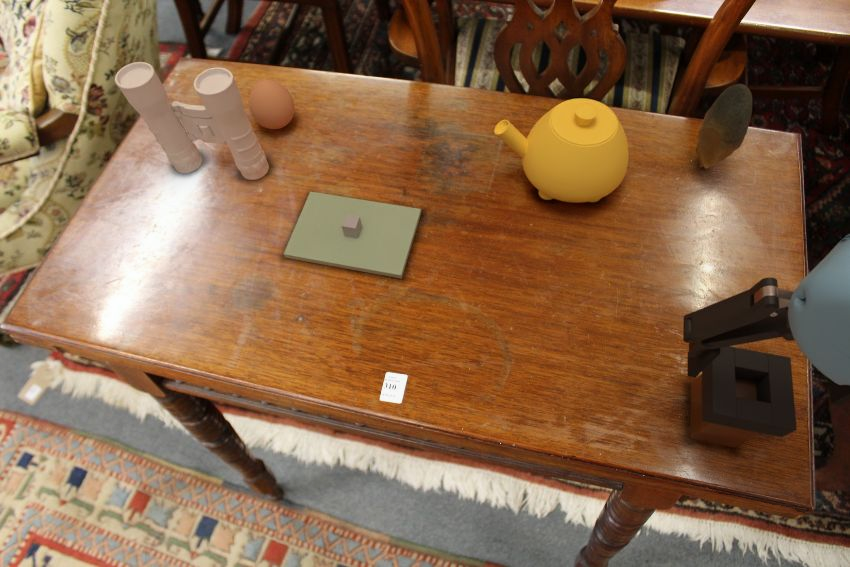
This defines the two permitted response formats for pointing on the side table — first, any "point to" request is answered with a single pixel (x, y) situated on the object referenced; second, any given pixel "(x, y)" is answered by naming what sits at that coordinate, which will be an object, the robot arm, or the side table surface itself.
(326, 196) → the base mat
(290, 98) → the egg
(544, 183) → the teapot
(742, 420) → the dark square frame
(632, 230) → the side table surface
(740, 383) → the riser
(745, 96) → the decorative stone
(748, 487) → the side table surface
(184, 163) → the binoculars
